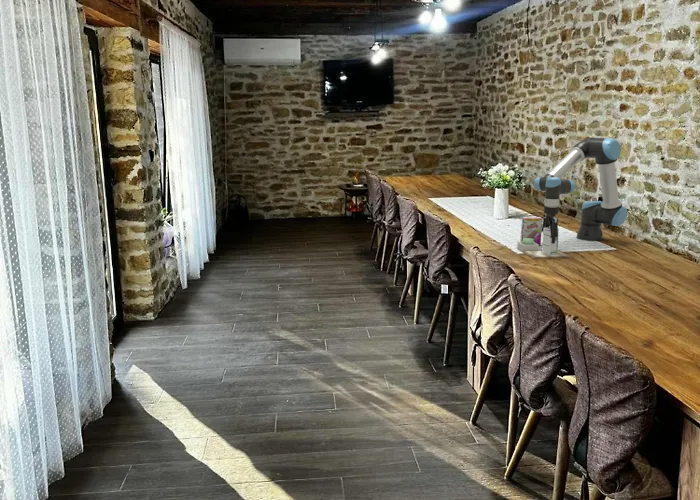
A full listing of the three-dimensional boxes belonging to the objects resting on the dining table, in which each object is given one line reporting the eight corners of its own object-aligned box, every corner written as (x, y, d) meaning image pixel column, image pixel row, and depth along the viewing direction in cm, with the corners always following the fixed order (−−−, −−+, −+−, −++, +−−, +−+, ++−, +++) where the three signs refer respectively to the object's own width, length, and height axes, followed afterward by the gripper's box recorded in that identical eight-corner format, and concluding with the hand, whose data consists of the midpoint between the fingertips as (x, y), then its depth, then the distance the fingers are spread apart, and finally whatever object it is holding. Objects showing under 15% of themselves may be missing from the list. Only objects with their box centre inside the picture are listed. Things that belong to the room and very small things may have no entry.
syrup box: (549, 255, 331) (551, 229, 327) (541, 253, 336) (543, 227, 332) (557, 254, 333) (559, 228, 330) (549, 251, 338) (551, 226, 335)
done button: (530, 244, 350) (531, 237, 349) (535, 246, 344) (535, 239, 343) (520, 244, 349) (521, 237, 348) (524, 247, 343) (525, 240, 342)
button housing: (532, 248, 352) (532, 241, 351) (538, 251, 343) (538, 244, 342) (517, 248, 351) (517, 241, 350) (522, 252, 342) (523, 245, 341)
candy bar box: (521, 245, 359) (523, 218, 355) (520, 243, 364) (521, 216, 360) (540, 245, 358) (542, 218, 354) (539, 243, 363) (541, 216, 359)
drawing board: (558, 251, 343) (558, 249, 343) (570, 258, 329) (570, 256, 328) (522, 252, 341) (522, 250, 341) (533, 259, 327) (533, 257, 327)
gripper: (537, 203, 338) (534, 243, 343) (553, 209, 317) (549, 251, 322) (550, 203, 338) (547, 242, 344) (566, 209, 318) (563, 251, 323)
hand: (548, 247), depth 333 cm, fingers open, 8 cm apart
